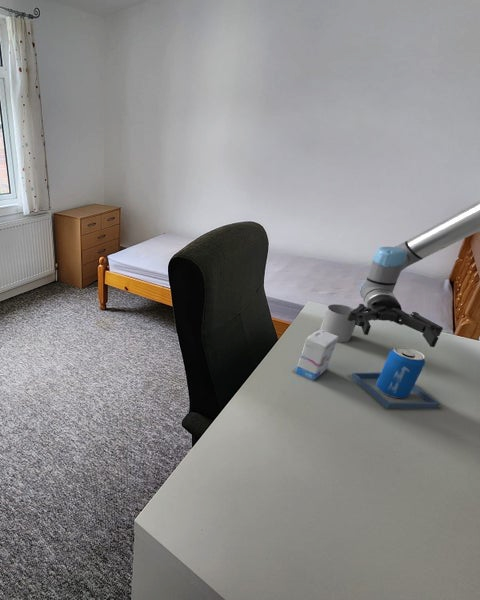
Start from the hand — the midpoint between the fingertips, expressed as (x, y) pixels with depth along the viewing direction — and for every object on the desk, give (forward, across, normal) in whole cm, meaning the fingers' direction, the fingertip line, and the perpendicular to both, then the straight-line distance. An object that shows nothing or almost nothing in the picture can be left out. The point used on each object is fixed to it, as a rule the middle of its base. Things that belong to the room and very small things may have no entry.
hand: (399, 336), depth 89 cm
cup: (-17, +10, -12) cm, 23 cm away
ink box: (+9, +18, -12) cm, 23 cm away
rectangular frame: (+9, 0, -12) cm, 15 cm away
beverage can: (+9, 0, -12) cm, 15 cm away
